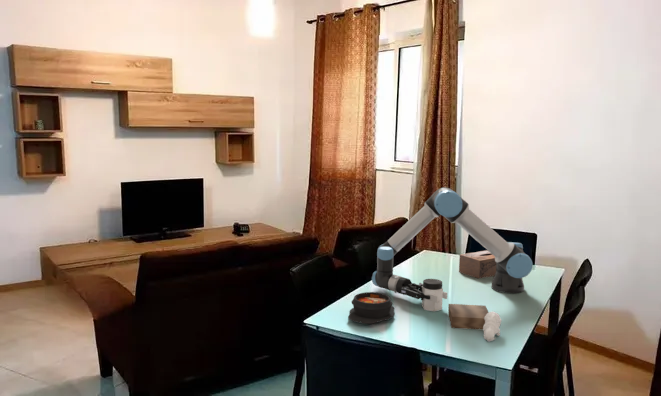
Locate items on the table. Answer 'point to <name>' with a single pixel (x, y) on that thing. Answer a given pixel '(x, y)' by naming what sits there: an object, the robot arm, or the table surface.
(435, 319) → the table surface
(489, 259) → the tissue box cover
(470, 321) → the walnut block
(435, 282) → the jar
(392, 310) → the casserole
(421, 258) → the table surface
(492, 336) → the white animal figurine
